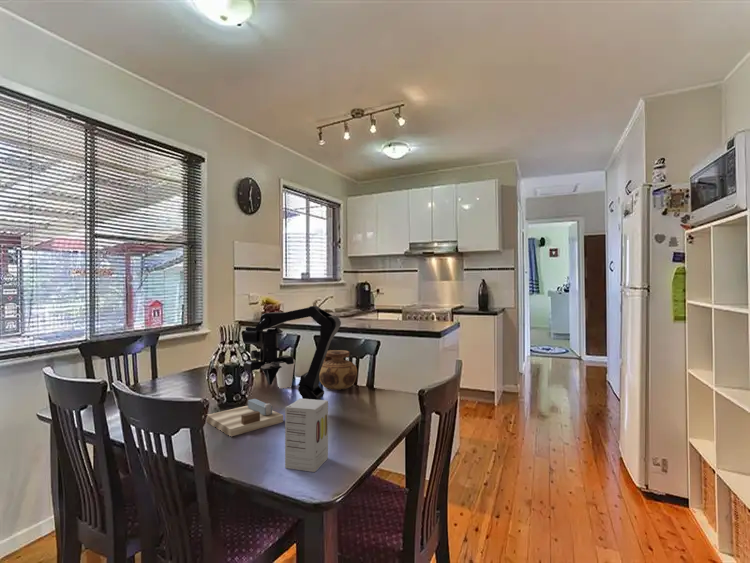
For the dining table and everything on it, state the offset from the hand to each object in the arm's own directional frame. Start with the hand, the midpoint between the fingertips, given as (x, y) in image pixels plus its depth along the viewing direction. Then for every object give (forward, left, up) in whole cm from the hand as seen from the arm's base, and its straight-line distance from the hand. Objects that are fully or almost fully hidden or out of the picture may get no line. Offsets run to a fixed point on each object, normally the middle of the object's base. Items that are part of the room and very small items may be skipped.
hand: (269, 384), depth 156 cm
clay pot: (+10, -42, -11) cm, 45 cm away
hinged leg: (-3, +6, -8) cm, 11 cm away
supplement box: (-47, +15, -11) cm, 51 cm away
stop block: (-12, +14, -8) cm, 20 cm away
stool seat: (-3, +12, -11) cm, 17 cm away
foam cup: (+30, -25, -11) cm, 41 cm away
